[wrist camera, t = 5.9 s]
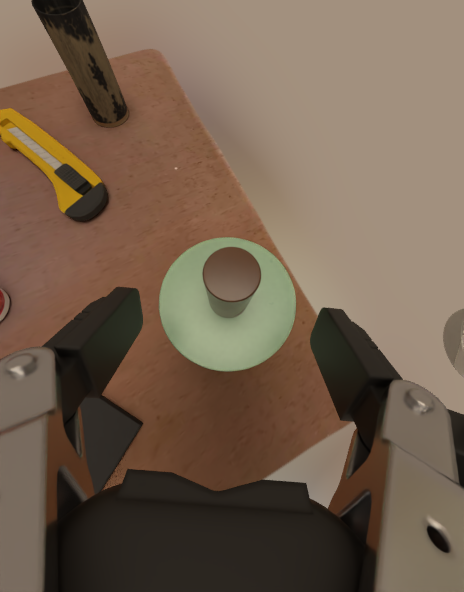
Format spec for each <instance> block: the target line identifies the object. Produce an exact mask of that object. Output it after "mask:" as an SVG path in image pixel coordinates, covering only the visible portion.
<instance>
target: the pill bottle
mask: <svg viewBox="0 0 464 592" xmlns="http://www.w3.org/2000/svg"><path fill="white" fill-rule="evenodd" d="M8 309H9V297H8V295H7V294H6V292H5V291H4V290H3V289H1V288H0V321H1V320H2V319H3V318H4V317H5V315H6V314H7V312H8Z"/></svg>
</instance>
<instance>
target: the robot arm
mask: <svg viewBox="0 0 464 592" xmlns="http://www.w3.org/2000/svg"><path fill="white" fill-rule="evenodd" d="M142 324H143V315H142V309H141V302H140V295H139V291H138V290H137V289H136V288H126V287H116V288H115V289H114V290H113V291H112V292H111V293H110V294H109V295H108V296H107V297H102V298H100V299H98V300H96V301H94V302H92V303H90V304H89V305H88V306H87V307H86V308H85V309H84V310H82V313H79V314H78V315H77V316H76V317H75V318H74V320H71V321H70V322H69V323H68V324H67V325H66V326H64V327H63V328H62V329H61V330H60V331H59V332H58V333H57V334H55V335H54V336H53V337H52V338H51V339H50V340H49V341H48V342H46V343H45V344H44V345H43V346H42V347H31V348H26V349H22V350H19V351H16V352H14V353H12V354H9V355H7V356H6V357H4V358H2V359H0V592H464V415H463V414H460V413H457V412H454V411H451V410H449V409H446V407H445V406H444V404H443V403H442V402H441V401H440V400H439V399H438V398H437V397H435V395H433V394H432V393H431V392H429V391H428V390H427V389H425V388H423V387H421V386H419V385H418V384H415V383H413V382H410V381H406V380H403V379H402V378H401V376H400V375H399V374H398V373H397V371H396V370H395V369H394V367H393V366H392V365H391V364H390V363H389V361H388V360H387V359H386V357H385V356H384V355H383V353H382V352H381V351H380V350H378V347H377V346H376V344H375V343H374V342H373V341H371V338H370V337H369V336H368V334H367V333H366V332H365V330H363V329H362V328H361V327H359V326H358V325H357V324H355V323H354V322H351V320H350V319H349V318H348V316H347V315H346V314H345V312H344V311H343V310H342V309H334V308H322V309H321V311H320V313H319V315H318V318H317V320H316V323H315V326H314V328H313V331H312V333H311V338H310V345H311V349H312V351H313V354H314V356H315V359H316V361H317V364H318V366H319V369H320V371H321V374H322V376H323V378H324V381H325V383H326V386H327V388H328V391H329V393H330V396H331V398H332V401H333V403H334V406H335V408H336V411H337V413H338V415H339V418H340V420H341V421H353V422H355V424H356V427H357V429H356V430H355V431H354V433H353V436H352V440H351V444H350V447H349V451H348V455H347V459H346V462H345V465H344V469H343V473H342V476H341V480H340V483H339V486H338V488H337V490H336V492H335V494H334V496H333V498H332V500H331V502H330V505H329V507H328V509H327V508H326V507H324V506H322V505H321V504H319V503H317V502H316V501H314V500H312V499H310V498H309V494H308V490H307V485H306V483H298V482H286V481H273V480H260V481H256V482H253V483H249V484H245V485H242V486H238V487H234V488H231V489H227V490H223V491H213V490H210V489H208V488H206V487H204V486H201V485H199V484H197V483H195V482H192V481H190V480H188V479H185V478H183V477H181V476H179V475H176V474H174V473H171V472H158V471H145V470H133V469H127V472H126V475H125V477H124V480H123V483H122V484H119V485H116V486H113V487H110V488H108V489H105V490H103V491H101V492H99V493H97V494H95V493H94V488H93V483H92V479H91V476H90V473H89V469H88V465H87V459H86V450H85V442H84V433H83V424H82V415H81V409H80V407H79V406H80V404H81V403H82V401H83V400H84V398H85V397H86V398H98V399H99V397H100V396H101V394H102V393H103V391H104V389H105V388H106V386H107V384H108V383H109V381H110V380H111V378H112V376H113V375H114V373H115V372H116V370H117V368H118V367H119V365H120V363H121V362H122V360H123V359H124V357H125V355H126V354H127V352H128V350H129V349H130V347H131V346H132V344H133V342H134V341H135V339H136V338H137V336H138V334H139V333H140V331H141V328H142Z"/></svg>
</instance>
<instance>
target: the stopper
mask: <svg viewBox="0 0 464 592" xmlns="http://www.w3.org/2000/svg"><path fill="white" fill-rule="evenodd" d="M159 311H160V318H161V322H162V325H163V328H164V330H165V333H166V335H167V336H168V338H169V340H170V341H171V343H172V344H173V345H174V347H175V348H176V349H177V350H178V351H179V352H180V353H181V354H182V355H183V356H185V357H186V358H187V359H189V360H190V361H192V362H194V363H196V364H197V365H199V366H202V367H205V368H208V369H212V370H216V371H227V372H229V371H239V370H244V369H248V368H251V367H254V366H256V365H258V364H260V363H262V362H264V361H265V360H267V359H268V358H270V357H271V356H272V355H273V354H274V353H275V352H276V351H278V350H279V348H280V347H281V346H282V345H283V343H284V342H285V340H286V339H287V337H288V335H289V333H290V331H291V329H292V326H293V322H294V319H295V312H296V297H295V291H294V287H293V284H292V281H291V279H290V276H289V274H288V273H287V271H286V269H285V268H284V266H283V265H282V264H281V262H280V261H279V260H278V259H277V258H276V257H275V256H274V255H273V254H272V253H270V252H269V251H268V250H266V249H265V248H263V247H262V246H260V245H258V244H255V243H253V242H250V241H247V240H244V239H239V238H230V237H227V238H215V239H211V240H207V241H204V242H201V243H199V244H197V245H195V246H193V247H191V248H189V249H188V250H187V251H185V252H184V253H183V254H182V255H181V256H180V257H178V258H177V259H176V261H175V262H174V263H173V264H172V266H171V267H170V269H169V270H168V272H167V274H166V276H165V278H164V280H163V283H162V286H161V290H160V296H159Z"/></svg>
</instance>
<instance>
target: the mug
mask: <svg viewBox="0 0 464 592" xmlns="http://www.w3.org/2000/svg"><path fill="white" fill-rule="evenodd" d="M32 6H33V7H34V9H35V11H36V13H37V15H38V16H39V18H40V20H41V22H42V23H43V25H44V27H45V29H46V31H47V33H48V34H49V36H50V38H51V40H52V42H53V44H54V46H55V47H56V49H57V51H58V53H59V55H60V57H61V59H62V60H63V62H64V64H65V66H66V68H67V70H68V71H69V73H70V75H71V77H72V79H73V81H74V83H75V85H76V87H77V89H78V90H79V92H80V94H81V96H82V98H83V100H84V102H85V104H86V106H87V108H88V110H89V112H90V114H91V116H92V118H93V120H94V121H95V122H96V123H97V124H98V125H100V126H103V127H116V126H119V125H121V124H122V123H124V122H125V121H126V120H127V118H128V115H129V111H128V108H127V106H126V104H125V101H124V98H123V96H122V93H121V90H120V88H119V85H118V83H117V80H116V78H115V75H114V73H113V70H112V68H111V65H110V63H109V60H108V58H107V56H106V53H105V51H104V49H103V46H102V44H101V42H100V39H99V37H98V35H97V32H96V30H95V27H94V25H93V23H92V21H91V18H90V16H89V14H88V11H87V9H86V7H85V5H84V2H83V0H32Z"/></svg>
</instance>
